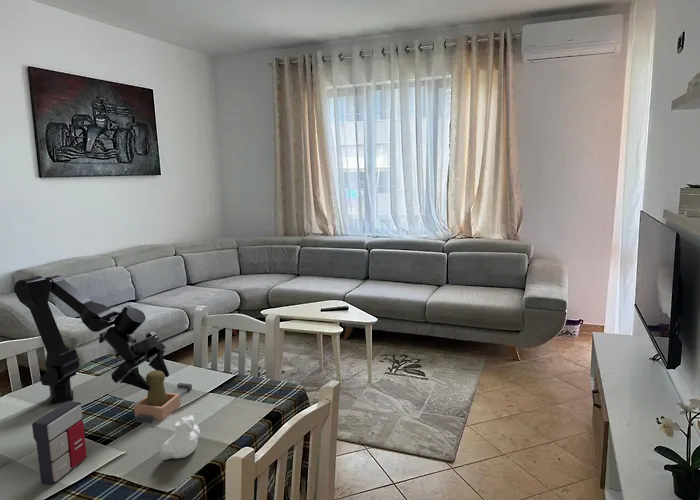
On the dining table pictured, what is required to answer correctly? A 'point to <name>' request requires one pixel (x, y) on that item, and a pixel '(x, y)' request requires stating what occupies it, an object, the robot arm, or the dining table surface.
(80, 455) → the calculator
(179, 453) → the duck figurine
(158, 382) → the cork
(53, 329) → the robot arm
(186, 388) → the rail
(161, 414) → the tray
